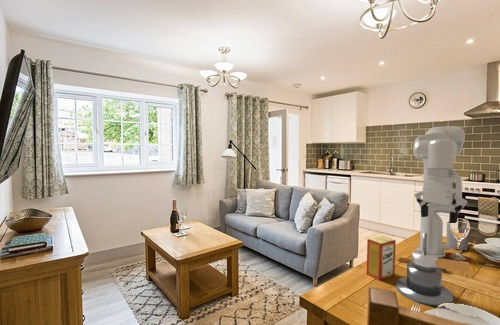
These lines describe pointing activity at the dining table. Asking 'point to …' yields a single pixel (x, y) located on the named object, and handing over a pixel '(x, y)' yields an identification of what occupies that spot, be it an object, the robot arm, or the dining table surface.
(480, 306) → the dining table surface
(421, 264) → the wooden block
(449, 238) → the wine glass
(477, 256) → the dining table surface
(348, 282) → the dining table surface
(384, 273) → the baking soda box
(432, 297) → the grey stepped cylinder
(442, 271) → the primitive tool
